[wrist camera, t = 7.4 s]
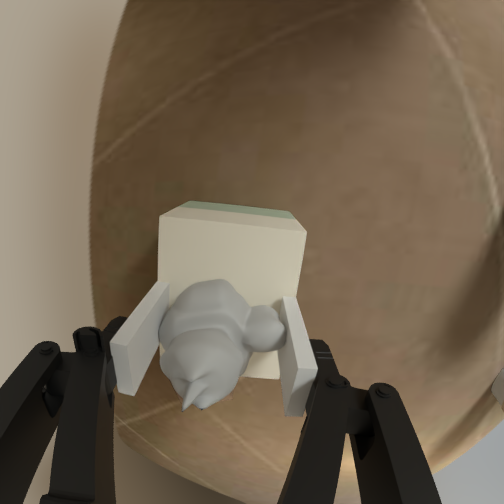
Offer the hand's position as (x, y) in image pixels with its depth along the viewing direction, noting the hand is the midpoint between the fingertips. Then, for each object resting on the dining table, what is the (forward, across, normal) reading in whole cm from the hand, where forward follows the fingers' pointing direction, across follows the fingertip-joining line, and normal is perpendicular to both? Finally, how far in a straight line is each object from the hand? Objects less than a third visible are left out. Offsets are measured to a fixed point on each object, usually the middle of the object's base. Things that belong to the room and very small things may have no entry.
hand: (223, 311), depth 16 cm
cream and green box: (+8, 0, 0) cm, 8 cm away
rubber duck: (0, 0, 0) cm, 0 cm away
